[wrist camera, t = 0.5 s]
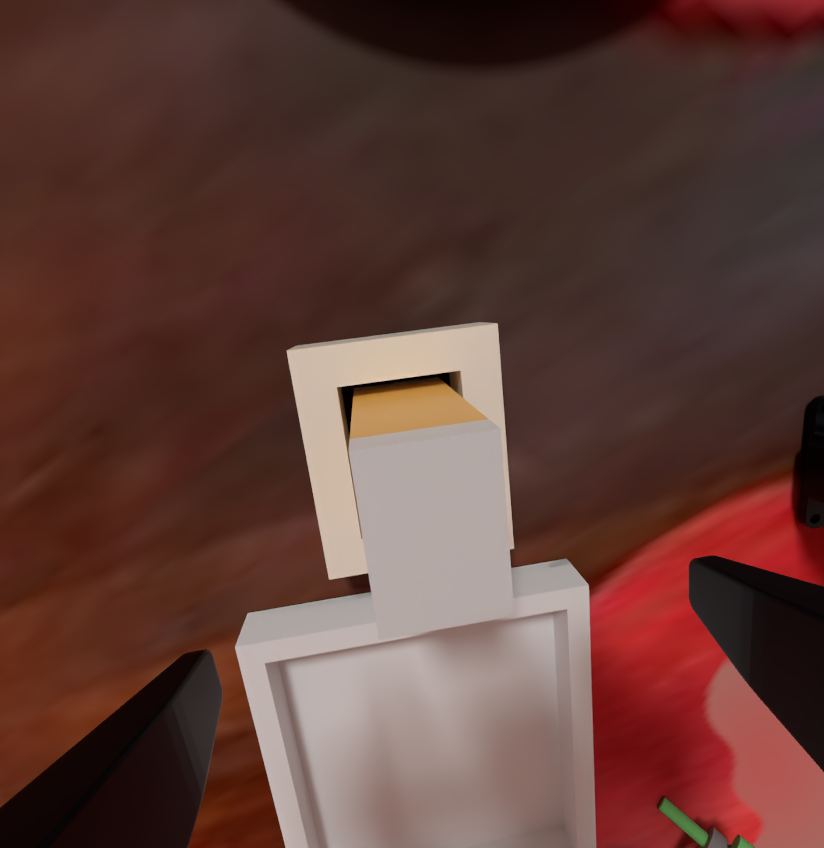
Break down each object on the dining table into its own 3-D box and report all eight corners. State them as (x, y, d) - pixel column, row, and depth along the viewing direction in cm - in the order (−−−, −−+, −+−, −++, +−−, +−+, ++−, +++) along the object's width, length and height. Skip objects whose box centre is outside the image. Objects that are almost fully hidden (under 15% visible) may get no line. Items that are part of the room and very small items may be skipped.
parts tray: (566, 558, 22) (588, 584, 20) (577, 825, 26) (597, 870, 24) (247, 613, 21) (234, 647, 19) (312, 883, 25) (308, 936, 23)
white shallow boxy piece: (480, 322, 19) (497, 323, 16) (496, 521, 21) (513, 548, 19) (296, 345, 18) (286, 350, 16) (332, 548, 21) (329, 579, 18)
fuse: (437, 376, 19) (500, 428, 11) (449, 487, 20) (514, 615, 12) (353, 387, 19) (348, 451, 10) (371, 499, 20) (378, 639, 12)
